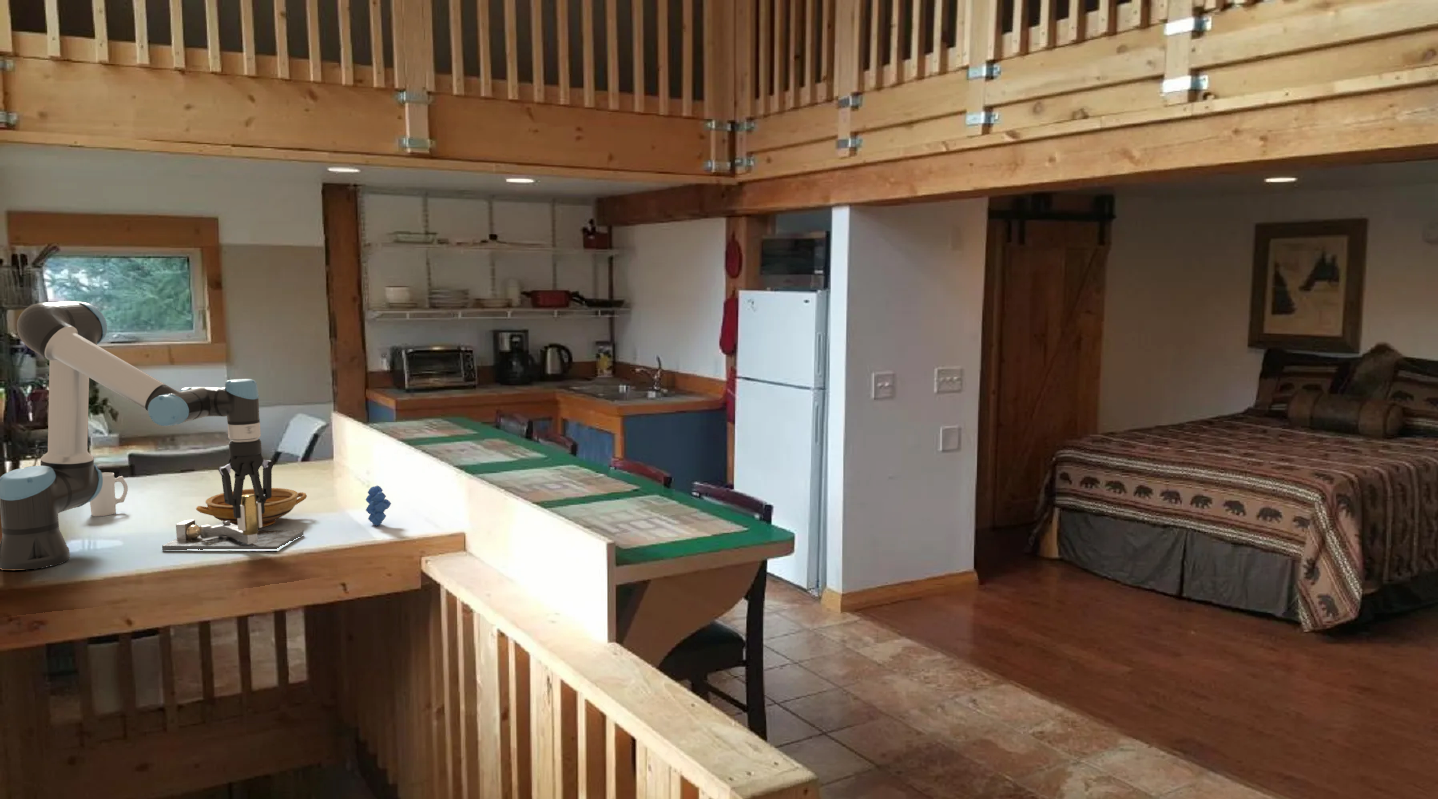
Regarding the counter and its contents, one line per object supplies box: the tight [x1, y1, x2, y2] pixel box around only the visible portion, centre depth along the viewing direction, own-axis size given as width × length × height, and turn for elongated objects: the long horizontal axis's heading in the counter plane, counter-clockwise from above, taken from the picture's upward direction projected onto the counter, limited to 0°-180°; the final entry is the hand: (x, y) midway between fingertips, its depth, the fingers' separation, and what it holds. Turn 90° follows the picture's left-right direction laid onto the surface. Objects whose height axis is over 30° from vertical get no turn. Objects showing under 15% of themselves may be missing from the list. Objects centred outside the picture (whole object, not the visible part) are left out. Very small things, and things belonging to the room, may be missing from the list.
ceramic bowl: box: [195, 487, 308, 529], centre depth 285 cm, size 30×24×8 cm
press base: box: [161, 519, 305, 551], centre depth 264 cm, size 16×30×6 cm, turn 89°
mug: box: [89, 472, 129, 517], centre depth 296 cm, size 10×7×12 cm, turn 129°
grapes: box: [365, 485, 392, 526], centre depth 283 cm, size 12×7×12 cm, turn 38°
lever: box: [199, 494, 259, 544], centre depth 259 cm, size 8×17×12 cm, turn 50°
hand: (250, 528), depth 257 cm, fingers closed on lever, 4 cm apart
